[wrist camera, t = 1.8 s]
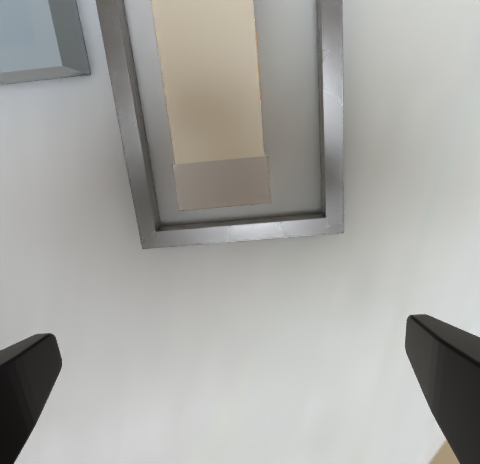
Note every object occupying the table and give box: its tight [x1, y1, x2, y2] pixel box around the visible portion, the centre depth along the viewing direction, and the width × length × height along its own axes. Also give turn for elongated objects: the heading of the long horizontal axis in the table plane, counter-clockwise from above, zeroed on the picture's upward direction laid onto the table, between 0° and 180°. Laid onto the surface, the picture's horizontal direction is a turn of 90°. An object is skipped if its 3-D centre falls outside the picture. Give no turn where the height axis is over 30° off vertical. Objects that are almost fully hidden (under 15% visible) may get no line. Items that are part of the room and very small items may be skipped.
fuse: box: [151, 0, 271, 211], centre depth 15 cm, size 3×9×9 cm, turn 5°
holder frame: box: [96, 0, 344, 249], centre depth 19 cm, size 12×17×1 cm
